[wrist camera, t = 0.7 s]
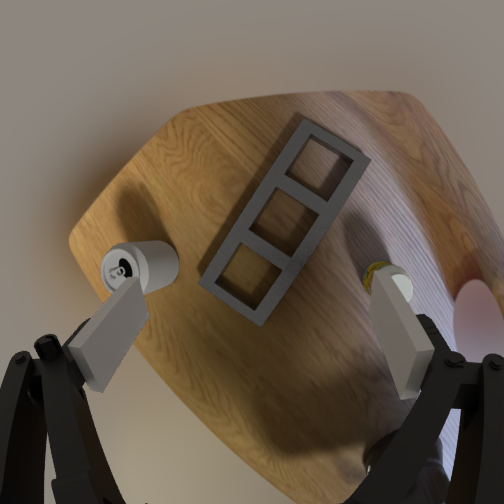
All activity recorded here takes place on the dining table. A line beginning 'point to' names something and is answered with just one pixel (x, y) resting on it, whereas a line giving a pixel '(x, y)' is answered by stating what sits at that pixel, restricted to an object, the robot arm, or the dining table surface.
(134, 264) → the can
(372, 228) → the dining table surface
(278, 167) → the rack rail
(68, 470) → the robot arm
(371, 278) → the supplement bottle
